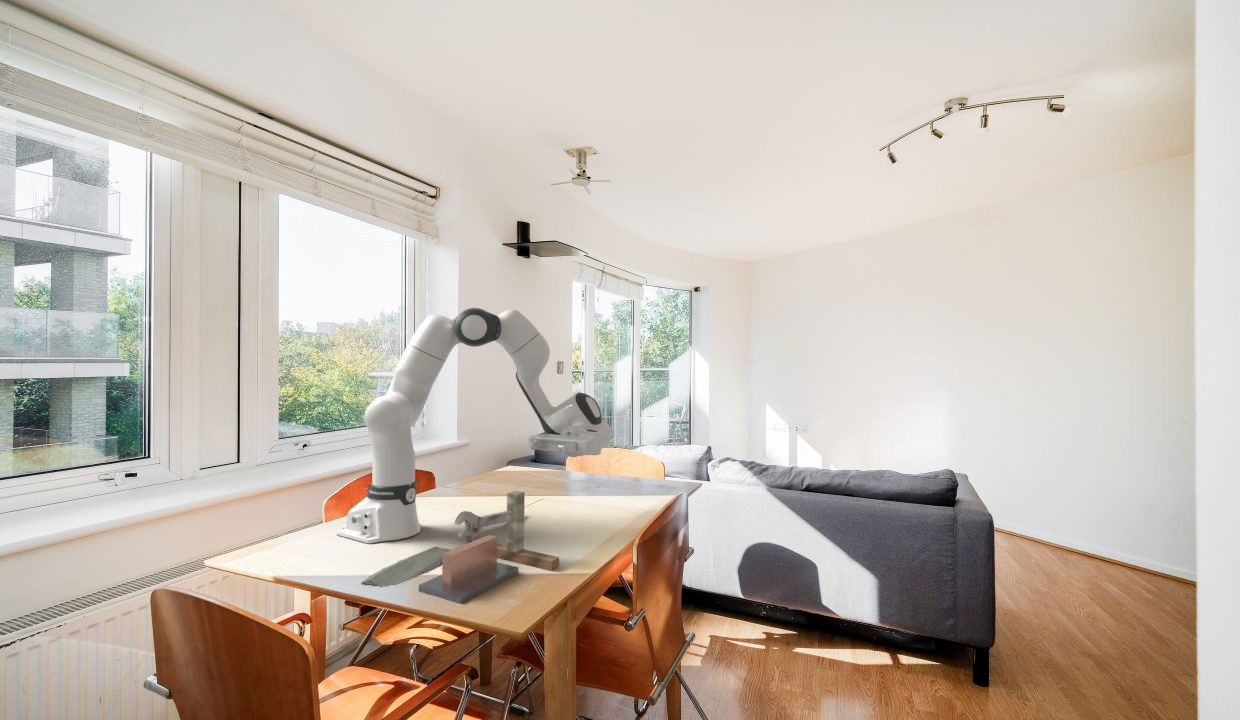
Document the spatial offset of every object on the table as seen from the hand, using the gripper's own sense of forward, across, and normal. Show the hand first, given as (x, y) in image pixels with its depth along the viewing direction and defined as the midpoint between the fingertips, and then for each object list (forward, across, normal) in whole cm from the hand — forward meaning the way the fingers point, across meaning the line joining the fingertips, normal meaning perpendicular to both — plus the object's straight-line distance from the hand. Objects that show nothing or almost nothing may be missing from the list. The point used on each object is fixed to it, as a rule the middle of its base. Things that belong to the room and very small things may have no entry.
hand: (546, 447), depth 142 cm
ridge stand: (+27, 0, +26) cm, 37 cm away
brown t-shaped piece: (+12, 0, +26) cm, 29 cm away
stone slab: (+29, -17, +26) cm, 42 cm away
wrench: (-2, -21, +26) cm, 33 cm away
